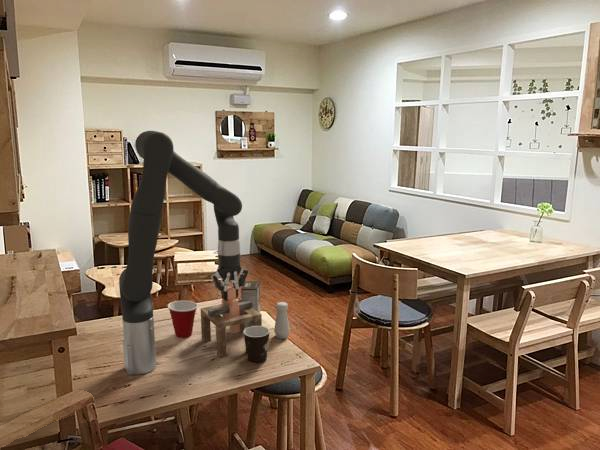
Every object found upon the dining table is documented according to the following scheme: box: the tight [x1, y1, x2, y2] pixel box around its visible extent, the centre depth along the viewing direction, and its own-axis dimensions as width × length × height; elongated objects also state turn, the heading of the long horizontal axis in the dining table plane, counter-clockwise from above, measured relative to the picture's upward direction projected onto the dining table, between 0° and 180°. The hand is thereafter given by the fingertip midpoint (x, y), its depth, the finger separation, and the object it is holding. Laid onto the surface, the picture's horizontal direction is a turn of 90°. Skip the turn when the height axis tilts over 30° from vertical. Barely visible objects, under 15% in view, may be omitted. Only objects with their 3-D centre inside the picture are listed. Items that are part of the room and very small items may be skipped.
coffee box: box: [240, 280, 261, 329], centre depth 192 cm, size 9×6×16 cm
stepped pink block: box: [221, 285, 240, 334], centre depth 174 cm, size 3×8×15 cm, turn 32°
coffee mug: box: [243, 325, 271, 365], centre depth 163 cm, size 12×9×10 cm
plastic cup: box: [167, 300, 199, 339], centre depth 182 cm, size 11×11×12 cm
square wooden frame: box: [200, 299, 263, 358], centre depth 176 cm, size 16×16×14 cm
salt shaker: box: [273, 301, 291, 340], centre depth 181 cm, size 6×6×13 cm
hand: (230, 299), depth 173 cm, fingers closed on stepped pink block, 3 cm apart
